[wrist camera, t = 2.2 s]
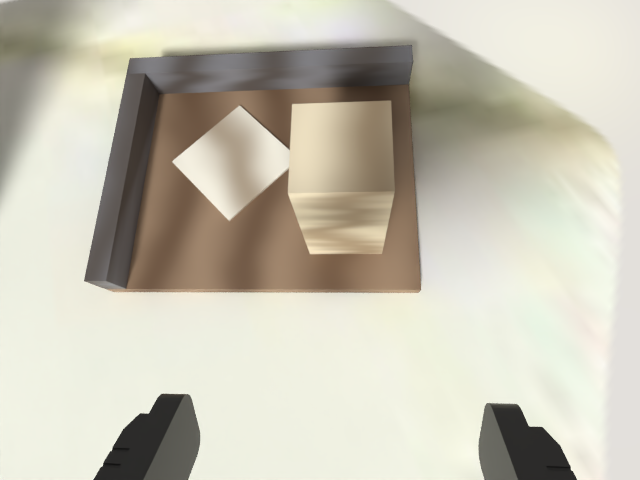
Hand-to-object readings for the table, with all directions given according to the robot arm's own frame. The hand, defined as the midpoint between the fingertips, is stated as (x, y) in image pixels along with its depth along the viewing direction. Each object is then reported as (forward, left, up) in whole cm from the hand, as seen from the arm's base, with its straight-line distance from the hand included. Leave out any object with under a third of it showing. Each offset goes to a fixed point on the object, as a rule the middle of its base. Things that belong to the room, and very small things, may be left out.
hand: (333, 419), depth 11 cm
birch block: (0, +12, -15) cm, 19 cm away
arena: (-6, +16, -16) cm, 24 cm away
